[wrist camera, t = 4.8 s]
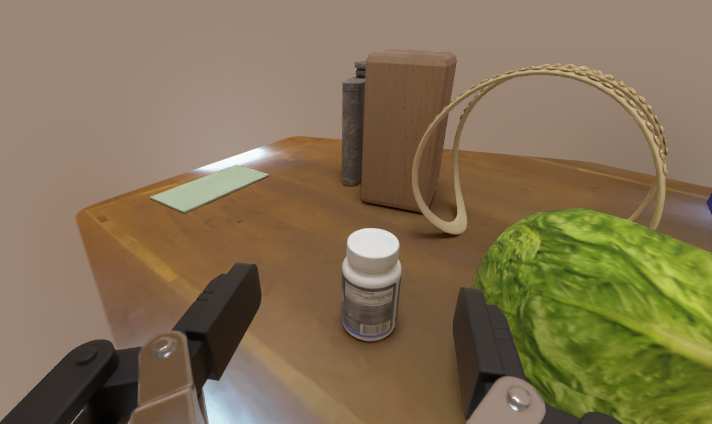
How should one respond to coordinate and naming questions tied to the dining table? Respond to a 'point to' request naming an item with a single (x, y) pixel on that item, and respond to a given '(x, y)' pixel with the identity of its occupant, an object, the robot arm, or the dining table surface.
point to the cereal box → (710, 203)
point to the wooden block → (404, 124)
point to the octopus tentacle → (568, 71)
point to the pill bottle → (371, 284)
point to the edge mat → (208, 188)
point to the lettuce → (606, 315)
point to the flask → (353, 126)
